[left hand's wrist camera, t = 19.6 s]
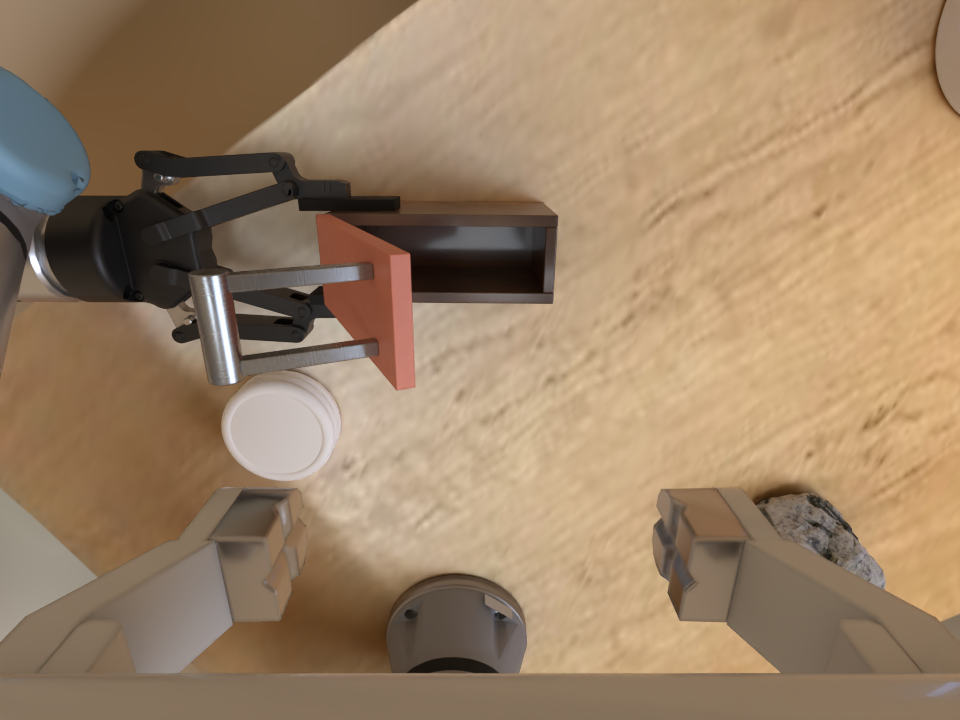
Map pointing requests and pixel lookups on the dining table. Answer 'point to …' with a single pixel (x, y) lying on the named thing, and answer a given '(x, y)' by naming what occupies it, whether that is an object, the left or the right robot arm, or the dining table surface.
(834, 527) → the rock
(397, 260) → the lid
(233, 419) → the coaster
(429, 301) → the chest
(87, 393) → the dining table surface
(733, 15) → the dining table surface
